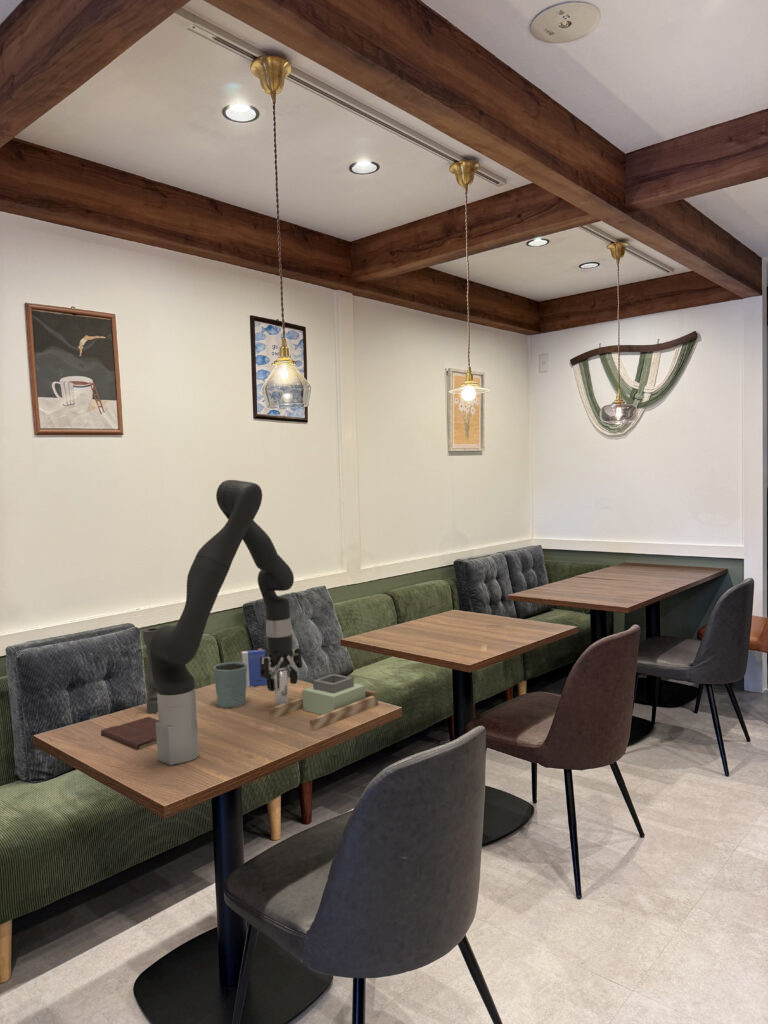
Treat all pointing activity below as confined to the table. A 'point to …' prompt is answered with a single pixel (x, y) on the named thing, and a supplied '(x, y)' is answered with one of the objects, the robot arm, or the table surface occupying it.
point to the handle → (281, 686)
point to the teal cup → (230, 683)
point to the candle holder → (150, 674)
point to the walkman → (253, 667)
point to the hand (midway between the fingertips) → (282, 686)
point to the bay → (331, 716)
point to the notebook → (134, 733)
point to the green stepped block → (331, 694)
